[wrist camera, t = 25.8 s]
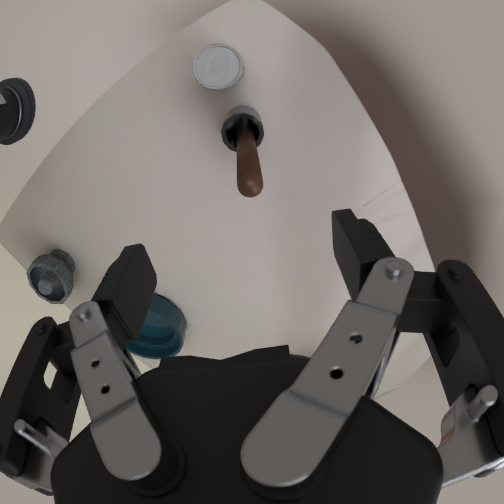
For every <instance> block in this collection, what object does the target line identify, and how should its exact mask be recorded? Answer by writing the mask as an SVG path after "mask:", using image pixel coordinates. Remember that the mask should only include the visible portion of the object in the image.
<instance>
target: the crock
mask: <svg viewBox="0 0 504 504" xmlns="http://www.w3.org/2000/svg"><path fill="white" fill-rule="evenodd" d="M241 118H248V119H249V120H250V121H251V122H252V127H253V132H254V137H255V142H256V147H258V146H259V145H260V144H261V142H262V139H263V136H264V131H263V125H262V122H261V118H260V115H259V114H258V113H257V111H256V110H254V109H253V108H251V107H248V106H239V107H236V108H234V109H233V110H232V111H231V112H229V114H228V115H227V118H226V120H225V122H224V124H223V127H222V130H221V135H222V139H223V142H224V144H225V145H226V146H227V147H228V148H229V149H230V150H232V151H235V152H237V122H238V120H239V119H241Z"/></svg>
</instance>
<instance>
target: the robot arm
mask: <svg viewBox="0 0 504 504" xmlns="http://www.w3.org/2000/svg"><path fill="white" fill-rule="evenodd" d="M22 119H23V102H22V98H21V96H20V94H19V92H18V91H17V90H16V89H15V88H13V87H10V86H6V87H2V88H0V141H2V140H5V139H8V138H10V137H12V136H13V135H14V134H15V133H16V132H17V131H18V129H19V128H20V125H21V123H22ZM332 234H333V249H334V255H335V258H336V261H337V263H338V266H339V268H340V271H341V273H342V276H343V278H344V281H345V283H346V286H347V289H348V291H349V294H350V296H351V299H352V300H348V301H347V302H346V304H345V305H344V307H343V308H342V310H341V312H340V313H339V315H338V317H337V318H336V320H335V322H334V323H333V325H332V326H331V328H330V330H329V331H328V333H327V334H326V336H325V338H324V339H323V341H322V342H321V344H320V345H319V347H318V348H317V350H316V351H315V353H314V354H313V356H312V357H311V358H309V357H305V356H301V355H293V354H290V353H289V346H288V345H283V346H276V347H268V348H261V349H254V350H251V351H248V352H245V353H242V354H239V355H236V356H233V357H229V358H226V359H222V360H217V359H210V358H203V357H196V356H175V357H161V360H160V365H159V367H157V368H154V369H152V370H150V371H147V372H145V373H144V374H141V372H140V370H139V369H138V367H137V365H136V363H135V361H134V359H133V358H132V356H131V354H130V352H129V350H128V349H127V347H126V344H127V342H138V341H139V338H140V334H141V331H142V328H143V325H144V322H145V318H146V315H147V312H148V309H149V306H150V303H151V300H152V297H153V294H154V291H155V288H156V285H157V277H156V273H155V270H154V268H153V266H152V263H151V261H150V259H149V256H148V254H147V252H146V249H145V247H144V246H143V245H142V244H135V245H130V246H126V247H124V249H123V251H122V252H121V254H120V256H119V258H118V259H117V260H116V261H115V262H114V263H113V264H112V265H111V266H110V267H109V268H108V270H107V272H106V274H105V276H104V277H103V279H102V282H101V283H100V285H99V286H98V288H97V290H96V292H95V294H94V296H93V298H92V300H91V301H88V302H85V303H82V304H81V305H79V306H78V307H76V308H75V309H74V310H73V312H72V313H71V315H70V318H69V321H68V322H65V323H62V324H59V325H57V323H56V322H55V321H54V319H53V318H52V317H44V318H42V319H40V320H39V321H37V322H36V323H35V324H34V325H33V327H32V328H31V330H30V332H29V334H28V336H27V338H26V340H25V342H24V344H23V346H22V348H21V350H20V352H19V354H18V357H17V359H16V361H15V363H14V365H13V368H12V370H11V372H10V375H9V377H8V379H7V382H6V384H5V387H4V389H3V392H2V395H1V397H0V471H1V472H2V473H4V474H5V475H6V476H7V477H9V478H11V479H13V480H15V481H17V482H18V483H20V484H22V485H24V486H26V487H28V488H30V489H34V490H36V491H38V492H40V493H43V494H45V495H47V496H52V495H53V496H54V501H55V504H436V502H437V499H438V496H439V493H440V490H441V489H442V488H444V487H447V486H450V485H452V484H455V483H457V482H460V481H462V480H465V479H467V478H469V477H471V476H474V477H479V478H480V477H485V476H487V475H489V474H491V473H493V472H495V471H496V470H498V469H499V468H501V467H503V466H504V318H503V316H502V314H501V313H500V311H499V310H498V308H497V307H496V305H495V303H494V302H493V300H492V298H491V297H490V295H489V294H488V292H487V291H486V290H485V288H484V286H483V285H482V283H481V282H480V280H479V279H478V278H477V276H476V275H475V273H474V272H473V271H472V269H471V268H470V267H469V266H468V265H466V264H465V263H463V262H461V261H457V260H445V261H442V262H441V263H440V264H439V265H438V267H437V271H436V272H419V271H414V268H413V266H412V265H411V264H410V263H409V262H408V261H406V260H404V259H401V258H398V257H395V255H394V254H393V252H392V251H391V249H390V248H389V246H388V245H387V243H386V242H385V240H384V239H383V238H382V236H381V234H380V233H379V232H378V230H377V229H376V227H375V226H374V224H372V223H371V222H369V221H368V220H366V219H357V218H356V216H355V215H354V213H353V212H352V210H351V209H343V210H336V211H332ZM401 332H413V333H423V335H424V338H425V340H426V342H427V345H428V348H429V350H430V353H431V355H432V358H433V360H434V363H435V366H436V369H437V371H438V374H439V377H440V380H441V383H442V386H443V388H444V391H445V394H446V398H447V401H448V404H449V406H450V409H449V410H448V411H447V413H446V414H445V415H444V417H443V419H442V422H441V442H440V445H439V447H437V448H436V447H435V445H434V444H433V443H432V442H431V441H430V440H429V439H428V438H427V437H425V436H424V435H422V434H421V433H420V432H418V431H417V430H415V429H414V428H412V427H411V426H409V425H408V424H407V423H405V422H404V421H402V420H401V419H399V418H398V417H397V416H395V415H394V414H392V413H391V412H389V411H388V410H386V409H385V408H384V407H382V406H381V405H380V404H378V403H377V402H375V401H374V400H373V399H374V396H375V394H376V392H377V390H378V388H379V385H380V383H381V380H382V378H383V375H384V373H385V370H386V368H387V365H388V363H389V361H390V358H391V356H392V354H393V351H394V349H395V346H396V344H397V341H398V339H399V336H400V334H401ZM49 361H50V362H51V363H52V365H53V366H54V367H55V368H56V369H57V372H56V375H55V378H54V380H53V383H52V386H51V389H49V388H48V387H47V386H46V384H45V382H44V373H45V370H46V368H47V365H48V362H49ZM81 392H82V395H83V398H84V401H85V404H86V407H87V410H88V413H89V415H90V418H91V422H90V423H89V424H88V425H87V427H85V428H84V429H83V430H82V431H81V432H80V433H79V434H78V435H77V436H76V437H75V438H74V439H73V440H72V441H71V442H70V443H69V440H70V435H71V430H72V427H73V422H74V418H75V414H76V410H77V407H78V403H79V399H80V395H81Z"/></svg>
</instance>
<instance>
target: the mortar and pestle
mask: <svg viewBox="0 0 504 504" xmlns="http://www.w3.org/2000/svg"><path fill="white" fill-rule="evenodd" d="M74 271H75V264H74V261H73V260H72V258H71V257H70V255H69V254H67V253H66V252H64V251H62V250H53V252H52V253H51V254H46V255H41V256H39V257H37V258H36V259H35V260H34V261H33V262H32V264H31V265H30V267H29V269H28V270H27V276H28V280H29V284H30V286H31V287H32V288H33V290H34V291H35V292H36V293H37V295H38V296H39V297H41V298H43V299H44V300H46V301H48V302H49V303H51V304H63V303H64V302H65V301H66V299H67V298H68V297H69V295H70V294H71V292H72V289H73V275H72V273H73V272H74Z"/></svg>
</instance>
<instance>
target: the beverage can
mask: <svg viewBox="0 0 504 504" xmlns="http://www.w3.org/2000/svg"><path fill="white" fill-rule="evenodd" d="M193 72H194V76H195V78H196V79H197V81H198V82H199V83H200V84H201V85H202V86H204V87H206V88H208V89H212V90H222V89H226V88H229V87H231V86H233V85H234V84H236V83H237V82H238V81H239V80H240V79H241V78H242V76H243V74H244V65H243V60H242V58H241V56H240V54H239V53H238V52H237V51H236V50H235V49H234V48H232V47H230V46H228V45H224V44H214V45H210V46H208V47H206V48H204V49H203V50H201V51H200V52H199V53H198V55H197V56H196V58H195V60H194V63H193Z"/></svg>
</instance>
